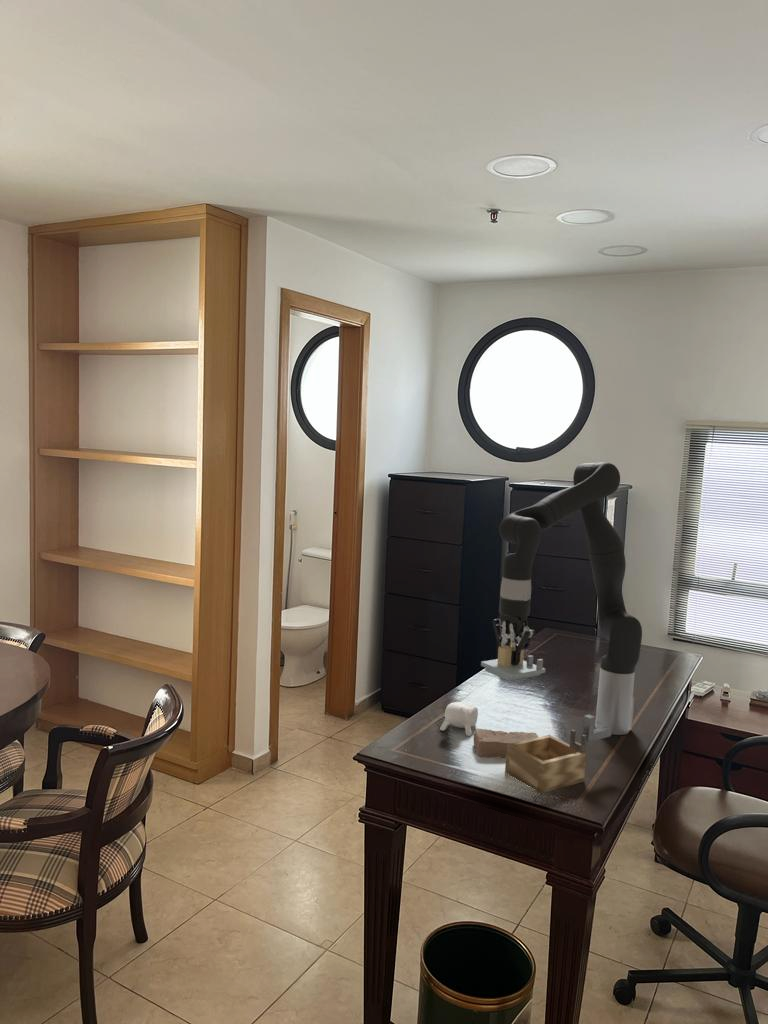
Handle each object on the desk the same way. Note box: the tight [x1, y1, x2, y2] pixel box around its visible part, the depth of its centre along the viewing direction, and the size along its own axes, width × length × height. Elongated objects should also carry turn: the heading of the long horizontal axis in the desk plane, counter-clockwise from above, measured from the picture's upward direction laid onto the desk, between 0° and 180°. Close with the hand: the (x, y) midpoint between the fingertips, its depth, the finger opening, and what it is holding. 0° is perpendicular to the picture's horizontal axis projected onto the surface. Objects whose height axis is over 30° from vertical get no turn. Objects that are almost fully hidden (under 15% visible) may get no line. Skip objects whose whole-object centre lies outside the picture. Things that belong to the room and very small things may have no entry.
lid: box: [480, 643, 546, 682], centre depth 196 cm, size 11×11×6 cm
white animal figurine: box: [439, 701, 479, 737], centre depth 211 cm, size 9×8×15 cm
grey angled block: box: [582, 714, 612, 743], centre depth 188 cm, size 8×2×6 cm, turn 123°
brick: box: [473, 728, 539, 759], centre depth 199 cm, size 17×8×5 cm, turn 93°
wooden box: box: [504, 729, 587, 794], centre depth 185 cm, size 14×12×11 cm
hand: (510, 662), depth 197 cm, fingers closed on lid, 2 cm apart
